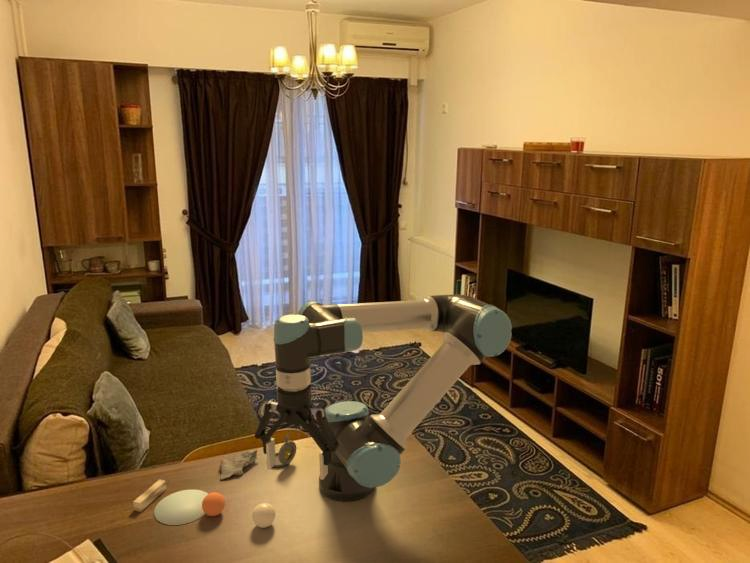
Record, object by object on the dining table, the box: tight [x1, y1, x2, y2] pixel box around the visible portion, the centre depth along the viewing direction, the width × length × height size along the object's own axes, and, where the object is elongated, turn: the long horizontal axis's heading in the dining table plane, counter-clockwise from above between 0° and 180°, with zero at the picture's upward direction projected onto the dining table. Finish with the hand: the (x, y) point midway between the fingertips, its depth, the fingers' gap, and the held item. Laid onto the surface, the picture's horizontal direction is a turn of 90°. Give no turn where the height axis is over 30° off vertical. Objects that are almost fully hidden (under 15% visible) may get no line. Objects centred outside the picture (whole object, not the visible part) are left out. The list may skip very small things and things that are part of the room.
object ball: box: [202, 491, 226, 517], centre depth 138 cm, size 6×6×6 cm
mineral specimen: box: [218, 449, 259, 480], centre depth 157 cm, size 6×12×4 cm, turn 120°
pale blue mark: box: [153, 489, 209, 526], centre depth 141 cm, size 14×14×1 cm
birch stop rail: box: [132, 479, 168, 513], centre depth 144 cm, size 10×2×2 cm, turn 162°
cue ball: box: [251, 502, 276, 529], centre depth 134 cm, size 6×6×6 cm
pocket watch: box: [273, 433, 297, 468], centre depth 159 cm, size 8×8×10 cm
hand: (297, 471), depth 128 cm, fingers open, 12 cm apart
